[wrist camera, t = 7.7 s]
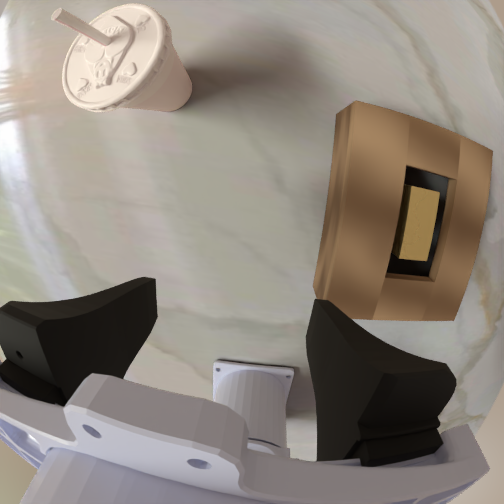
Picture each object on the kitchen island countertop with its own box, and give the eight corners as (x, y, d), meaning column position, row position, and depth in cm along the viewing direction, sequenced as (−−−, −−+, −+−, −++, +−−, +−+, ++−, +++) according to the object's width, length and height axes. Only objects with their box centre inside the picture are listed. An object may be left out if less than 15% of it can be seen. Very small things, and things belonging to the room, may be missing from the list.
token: (401, 243, 21) (426, 261, 17) (376, 240, 21) (399, 258, 17) (410, 185, 19) (439, 192, 15) (385, 180, 19) (411, 185, 15)
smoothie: (210, 51, 17) (139, -57, 4) (208, 124, 19) (109, 69, 6) (137, 64, 17) (23, 2, 4) (133, 132, 19) (-5, 120, 6)
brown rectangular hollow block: (428, 294, 22) (454, 320, 17) (312, 285, 23) (322, 317, 18) (457, 149, 18) (492, 150, 13) (336, 114, 18) (355, 100, 13)
